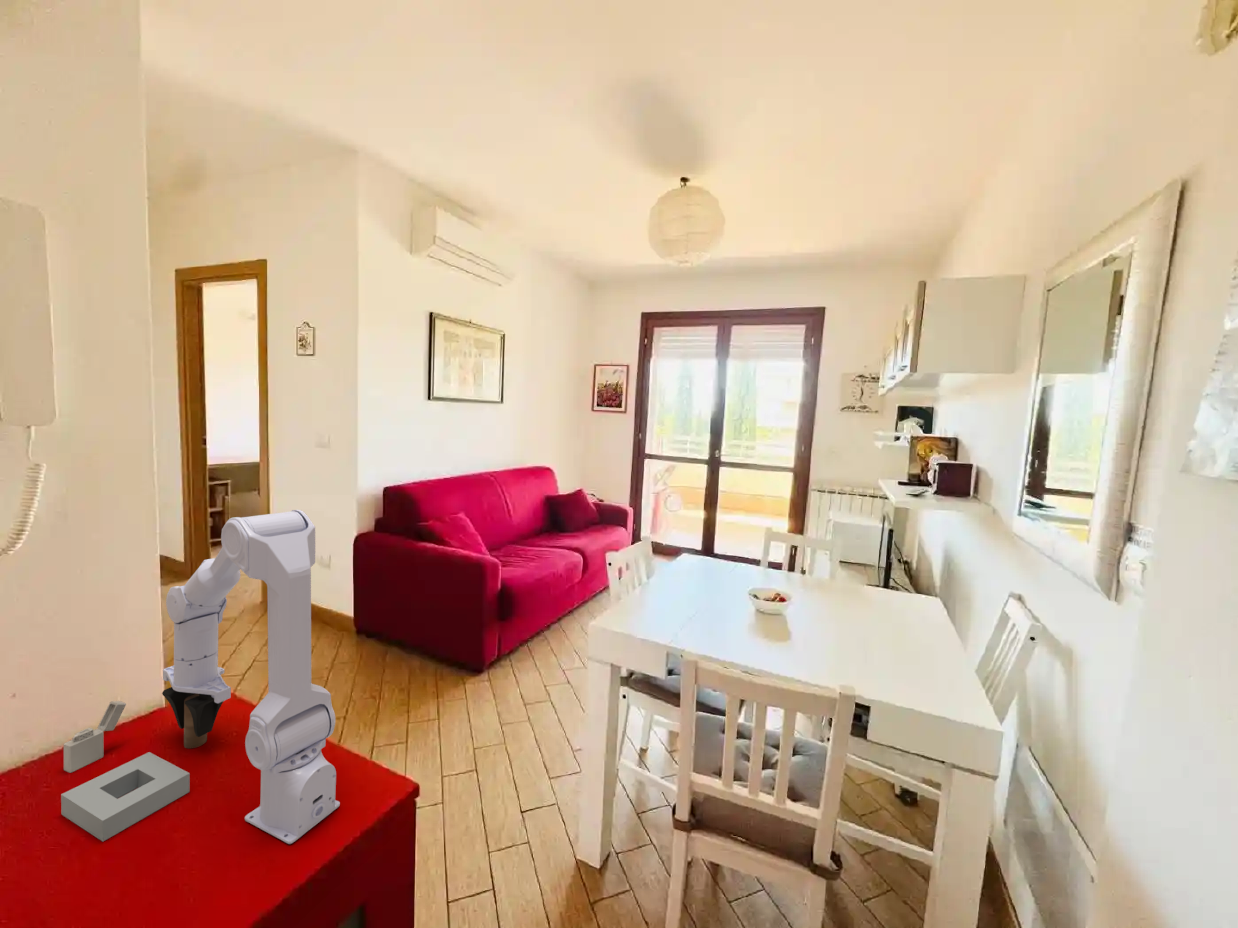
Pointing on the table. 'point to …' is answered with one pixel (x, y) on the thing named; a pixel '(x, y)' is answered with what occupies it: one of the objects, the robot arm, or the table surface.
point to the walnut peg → (191, 729)
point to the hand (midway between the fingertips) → (195, 729)
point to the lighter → (91, 740)
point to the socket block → (110, 815)
